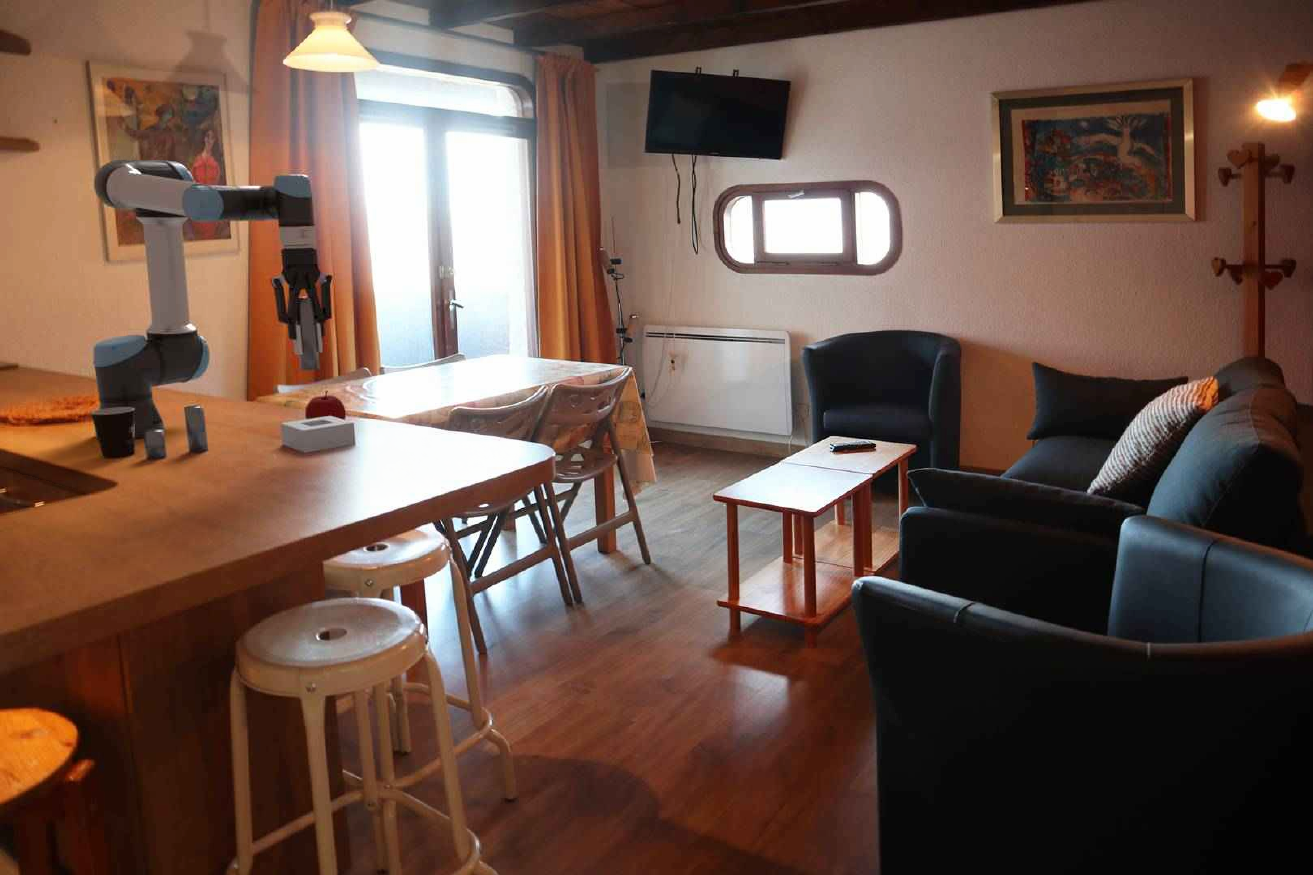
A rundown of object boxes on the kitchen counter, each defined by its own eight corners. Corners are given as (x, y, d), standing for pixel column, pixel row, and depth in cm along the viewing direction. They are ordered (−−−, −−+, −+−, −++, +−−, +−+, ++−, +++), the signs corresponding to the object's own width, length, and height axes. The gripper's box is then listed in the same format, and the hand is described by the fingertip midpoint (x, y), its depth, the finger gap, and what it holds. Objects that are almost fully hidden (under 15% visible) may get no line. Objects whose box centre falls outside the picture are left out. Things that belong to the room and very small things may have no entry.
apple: (341, 425, 267) (337, 385, 264) (351, 431, 259) (348, 390, 257) (303, 430, 262) (299, 389, 260) (312, 436, 254) (308, 395, 252)
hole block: (282, 444, 246) (280, 423, 245) (332, 436, 254) (330, 415, 253) (305, 452, 237) (303, 430, 236) (355, 444, 245) (353, 422, 244)
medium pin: (186, 450, 241) (181, 407, 239) (204, 448, 244) (199, 404, 242) (192, 453, 239) (187, 409, 236) (211, 450, 241) (206, 406, 239)
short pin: (144, 457, 236) (140, 431, 234) (163, 454, 238) (160, 428, 237) (150, 460, 233) (146, 433, 231) (169, 457, 235) (166, 430, 234)
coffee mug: (122, 460, 234) (117, 414, 232) (88, 459, 235) (82, 414, 233) (157, 448, 245) (151, 405, 243) (123, 447, 247) (118, 404, 244)
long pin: (305, 370, 239) (298, 298, 235) (297, 369, 242) (290, 297, 238) (322, 368, 241) (315, 297, 238) (314, 367, 244) (308, 296, 241)
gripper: (267, 248, 228) (278, 358, 233) (342, 245, 239) (351, 350, 243) (253, 248, 233) (264, 355, 238) (328, 245, 244) (337, 347, 249)
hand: (308, 352), depth 241 cm, fingers closed on long pin, 4 cm apart
